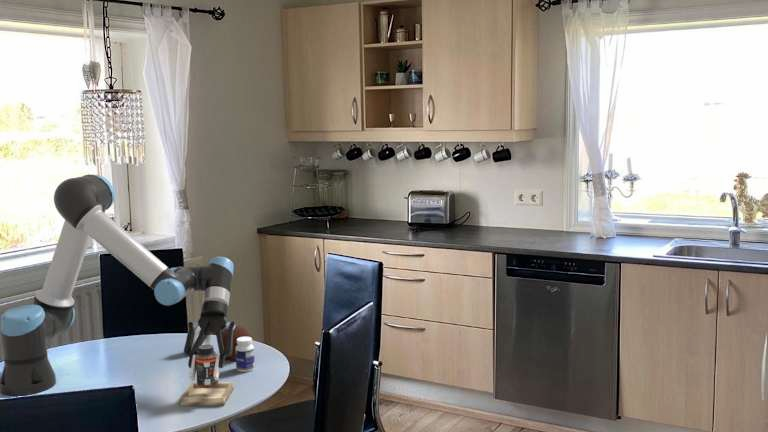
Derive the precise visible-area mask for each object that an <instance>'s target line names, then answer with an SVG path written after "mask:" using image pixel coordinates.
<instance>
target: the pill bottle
mask: <svg viewBox="0 0 768 432" xmlns="http://www.w3.org/2000/svg"><path fill="white" fill-rule="evenodd" d="M252 343H253V338H252V336H251V337H239V338H237V344H238V345H237V346H236V349H235V351H236V361H235V369H236V371H237V372H241V373H247V372H251V371H253V370H254V369H255V365H256V364H255V363H256V362H255V347H254V345H253V344H252Z"/></svg>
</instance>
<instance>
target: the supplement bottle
mask: <svg viewBox="0 0 768 432" xmlns="http://www.w3.org/2000/svg"><path fill="white" fill-rule="evenodd" d="M214 350H215V349H214V345H212V344H209V345H201V346H199V352H198V354H197V355H196V374H195V375H196V382H197V386H199V387H201V388H211V387H214V386H216V385H217V384H218V382H219V379H218V380H215V379H214V377H213V375H214V369H215V362H216V355H218V353H216V352H215V351H214Z"/></svg>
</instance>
